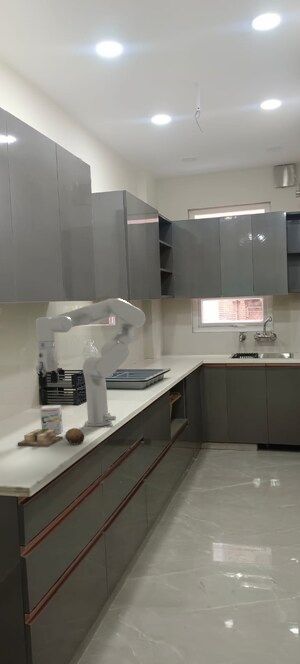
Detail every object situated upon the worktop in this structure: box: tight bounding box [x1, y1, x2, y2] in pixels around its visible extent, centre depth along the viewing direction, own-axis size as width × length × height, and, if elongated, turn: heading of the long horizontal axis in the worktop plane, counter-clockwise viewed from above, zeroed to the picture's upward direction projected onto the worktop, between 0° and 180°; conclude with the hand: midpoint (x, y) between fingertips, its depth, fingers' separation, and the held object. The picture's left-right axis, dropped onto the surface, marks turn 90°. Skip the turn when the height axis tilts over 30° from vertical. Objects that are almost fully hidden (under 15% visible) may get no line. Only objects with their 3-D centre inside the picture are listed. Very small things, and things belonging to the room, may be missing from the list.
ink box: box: [40, 404, 64, 435], centre depth 224 cm, size 8×5×12 cm, turn 89°
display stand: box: [17, 428, 63, 448], centre depth 209 cm, size 12×14×4 cm
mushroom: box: [64, 427, 85, 445], centre depth 204 cm, size 8×8×6 cm
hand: (48, 384), depth 223 cm, fingers open, 9 cm apart
